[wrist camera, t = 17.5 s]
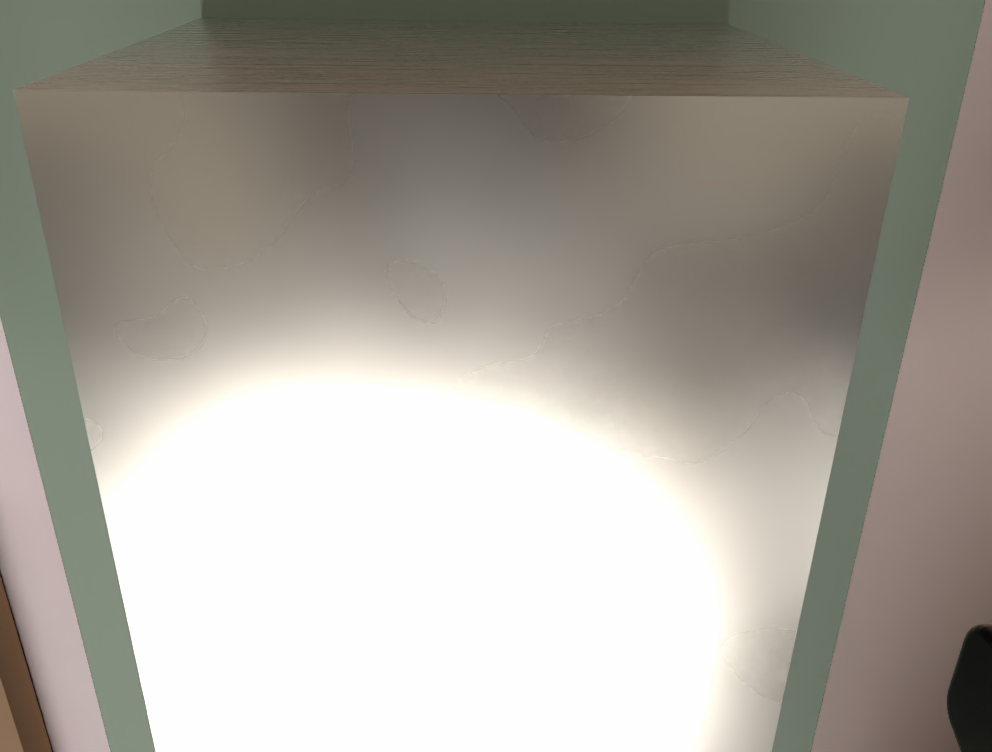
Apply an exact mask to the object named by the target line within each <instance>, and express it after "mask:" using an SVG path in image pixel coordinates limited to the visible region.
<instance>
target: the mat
mask: <svg viewBox="0 0 992 752" xmlns="http://www.w3.org/2000/svg"><path fill="white" fill-rule="evenodd" d="M984 4H985V0H0V317H1V321H2V325H3V329H4V332H5V336H6V340H7V344H8V348H9V352H10V356H11V360H12V364H13V368H14V372H15V376H16V380H17V384H18V388H19V392H20V396H21V400H22V404H23V407H24V411H25V415H26V419H27V423H28V427H29V431H30V435H31V439H32V443H33V447H34V451H35V455H36V459H37V463H38V467H39V471H40V475H41V479H42V482H43V486H44V490H45V494H46V498H47V502H48V506H49V510H50V514H51V518H52V522H53V526H54V530H55V534H56V538H57V542H58V546H59V550H60V554H61V557H62V561H63V565H64V569H65V573H66V577H67V581H68V585H69V589H70V593H71V597H72V601H73V605H74V609H75V613H76V617H77V621H78V625H79V629H80V633H81V636H82V640H83V644H84V648H85V652H86V656H87V660H88V664H89V668H90V672H91V676H92V680H93V684H94V688H95V692H96V696H97V700H98V704H99V708H100V711H101V715H102V719H103V723H104V727H105V731H106V735H107V739H108V743H109V747H110V751H111V752H156V749H155V744H154V740H153V735H152V730H151V726H150V721H149V717H148V712H147V707H146V703H145V698H144V693H143V689H142V684H141V680H140V675H139V670H138V666H137V661H136V657H135V652H134V647H133V643H132V638H131V633H130V629H129V624H128V620H127V615H126V610H125V606H124V601H123V597H122V592H121V587H120V583H119V578H118V573H117V569H116V564H115V560H114V555H113V550H112V546H111V541H110V537H109V532H108V527H107V523H106V518H105V514H104V509H103V504H102V500H101V495H100V490H99V486H98V481H97V477H96V472H95V467H94V463H93V458H92V454H91V449H90V444H89V440H88V435H87V430H86V426H85V421H84V417H83V412H82V407H81V403H80V398H79V394H78V389H77V384H76V380H75V375H74V370H73V366H72V361H71V357H70V352H69V347H68V343H67V338H66V334H65V329H64V324H63V320H62V315H61V310H60V306H59V301H58V297H57V292H56V287H55V283H54V278H53V274H52V269H51V264H50V260H49V255H48V250H47V246H46V241H45V237H44V232H43V227H42V223H41V218H40V214H39V209H38V204H37V200H36V195H35V191H34V186H33V181H32V177H31V172H30V167H29V163H28V158H27V154H26V149H25V144H24V140H23V135H22V131H21V126H20V121H19V117H18V112H17V107H16V103H15V98H14V94H13V90H14V89H17V88H20V87H22V86H25V85H27V84H30V83H33V82H35V81H38V80H40V79H43V78H46V77H48V76H51V75H53V74H56V73H59V72H61V71H64V70H66V69H69V68H72V67H74V66H77V65H79V64H82V63H85V62H87V61H90V60H92V59H95V58H98V57H100V56H103V55H105V54H108V53H111V52H113V51H116V50H118V49H121V48H124V47H126V46H129V45H131V44H134V43H137V42H139V41H142V40H144V39H147V38H150V37H152V36H155V35H157V34H160V33H163V32H165V31H168V30H170V29H173V28H176V27H178V26H181V25H183V24H186V23H189V22H191V21H194V20H196V19H199V18H275V19H362V20H448V21H535V22H621V23H708V24H730V25H733V26H735V27H738V28H740V29H742V30H745V31H747V32H750V33H752V34H755V35H757V36H759V37H762V38H764V39H767V40H769V41H772V42H774V43H776V44H779V45H781V46H784V47H786V48H789V49H791V50H793V51H796V52H798V53H801V54H803V55H806V56H808V57H810V58H813V59H815V60H818V61H820V62H823V63H825V64H827V65H830V66H832V67H835V68H837V69H840V70H842V71H844V72H847V73H849V74H852V75H854V76H857V77H859V78H861V79H864V80H866V81H869V82H871V83H874V84H876V85H878V86H881V87H883V88H886V89H888V90H891V91H893V92H895V93H898V94H900V95H903V96H905V97H908V98H909V102H908V107H907V111H906V116H905V121H904V126H903V130H902V135H901V140H900V145H899V149H898V154H897V159H896V164H895V168H894V173H893V178H892V183H891V187H890V192H889V197H888V202H887V206H886V211H885V216H884V221H883V225H882V230H881V235H880V240H879V244H878V249H877V254H876V259H875V263H874V268H873V273H872V278H871V282H870V287H869V292H868V297H867V301H866V306H865V311H864V316H863V320H862V325H861V330H860V335H859V339H858V344H857V349H856V354H855V358H854V363H853V368H852V373H851V377H850V382H849V387H848V392H847V396H846V401H845V406H844V411H843V415H842V420H841V425H840V430H839V434H838V439H837V444H836V449H835V453H834V458H833V463H832V468H831V472H830V477H829V482H828V487H827V491H826V496H825V501H824V506H823V510H822V515H821V520H820V525H819V529H818V534H817V539H816V543H815V548H814V553H813V558H812V562H811V567H810V572H809V577H808V581H807V586H806V591H805V596H804V600H803V605H802V610H801V615H800V619H799V624H798V629H797V634H796V638H795V643H794V648H793V653H792V657H791V662H790V667H789V672H788V676H787V681H786V686H785V691H784V695H783V700H782V705H781V710H780V714H779V719H778V724H777V729H776V733H775V738H774V743H773V748H772V752H811V747H812V743H813V739H814V735H815V730H816V726H817V722H818V717H819V713H820V709H821V704H822V700H823V696H824V692H825V687H826V683H827V679H828V674H829V670H830V666H831V661H832V657H833V653H834V649H835V644H836V640H837V636H838V631H839V627H840V623H841V618H842V614H843V610H844V606H845V601H846V597H847V593H848V588H849V584H850V580H851V576H852V571H853V567H854V563H855V558H856V554H857V550H858V545H859V541H860V537H861V533H862V528H863V524H864V520H865V515H866V511H867V507H868V502H869V498H870V494H871V490H872V485H873V481H874V477H875V472H876V468H877V464H878V459H879V455H880V451H881V447H882V442H883V438H884V434H885V429H886V425H887V421H888V416H889V412H890V408H891V404H892V399H893V395H894V391H895V386H896V382H897V378H898V374H899V369H900V365H901V361H902V356H903V352H904V348H905V343H906V339H907V335H908V331H909V326H910V322H911V318H912V313H913V309H914V305H915V300H916V296H917V292H918V288H919V283H920V279H921V275H922V270H923V266H924V262H925V257H926V253H927V249H928V245H929V240H930V236H931V232H932V227H933V223H934V219H935V214H936V210H937V206H938V202H939V197H940V193H941V189H942V184H943V180H944V176H945V172H946V167H947V163H948V159H949V154H950V150H951V146H952V141H953V137H954V133H955V129H956V124H957V120H958V116H959V111H960V107H961V103H962V98H963V94H964V90H965V86H966V81H967V77H968V73H969V68H970V64H971V60H972V55H973V51H974V47H975V43H976V38H977V34H978V30H979V25H980V21H981V17H982V13H983V8H984Z"/></svg>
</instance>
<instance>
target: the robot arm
mask: <svg viewBox="0 0 992 752" xmlns="http://www.w3.org/2000/svg"><path fill="white" fill-rule="evenodd" d="M947 710H948V715H949V719H950V723H951V726H952V728H953V731H954V734H955V737H956V739H957V742H958V745H959V747H960V750H961V752H992V624H986V625H977V626H974V627H973V628H971V629H970V630H969V631H968V633H967V634H966V636H965V639H964V642H963V645H962V648H961V651H960V655H959V658H958V661H957V664H956V667H955V670H954V673H953V677H952V680H951V683H950V686H949V689H948V694H947Z"/></svg>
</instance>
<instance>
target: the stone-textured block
mask: <svg viewBox="0 0 992 752" xmlns="http://www.w3.org/2000/svg"><path fill="white" fill-rule="evenodd" d="M13 94H14V98H15V103H16V107H17V112H18V117H19V121H20V126H21V131H22V135H23V140H24V144H25V149H26V154H27V158H28V163H29V167H30V172H31V177H32V181H33V186H34V191H35V195H36V200H37V204H38V209H39V214H40V218H41V223H42V227H43V232H44V237H45V241H46V246H47V250H48V255H49V260H50V264H51V269H52V274H53V278H54V283H55V287H56V292H57V297H58V301H59V306H60V310H61V315H62V320H63V324H64V329H65V334H66V338H67V343H68V347H69V352H70V357H71V361H72V366H73V370H74V375H75V380H76V384H77V389H78V394H79V398H80V403H81V407H82V412H83V417H84V421H85V426H86V430H87V435H88V440H89V444H90V449H91V454H92V458H93V463H94V467H95V472H96V477H97V481H98V486H99V490H100V495H101V500H102V504H103V509H104V514H105V518H106V523H107V527H108V532H109V537H110V541H111V546H112V550H113V555H114V560H115V564H116V569H117V573H118V578H119V583H120V587H121V592H122V597H123V601H124V606H125V610H126V615H127V620H128V624H129V629H130V633H131V638H132V643H133V647H134V652H135V657H136V661H137V666H138V670H139V675H140V680H141V684H142V689H143V693H144V698H145V703H146V707H147V712H148V717H149V721H150V726H151V730H152V735H153V740H154V744H155V749H156V752H772V748H773V743H774V738H775V733H776V729H777V724H778V719H779V714H780V710H781V705H782V700H783V695H784V691H785V686H786V681H787V676H788V672H789V667H790V662H791V657H792V653H793V648H794V643H795V638H796V634H797V629H798V624H799V619H800V615H801V610H802V605H803V600H804V596H805V591H806V586H807V581H808V577H809V572H810V567H811V562H812V558H813V553H814V548H815V543H816V539H817V534H818V529H819V525H820V520H821V515H822V510H823V506H824V501H825V496H826V491H827V487H828V482H829V477H830V472H831V468H832V463H833V458H834V453H835V449H836V444H837V439H838V434H839V430H840V425H841V420H842V415H843V411H844V406H845V401H846V396H847V392H848V387H849V382H850V377H851V373H852V368H853V363H854V358H855V354H856V349H857V344H858V339H859V335H860V330H861V325H862V320H863V316H864V311H865V306H866V301H867V297H868V292H869V287H870V282H871V278H872V273H873V268H874V263H875V259H876V254H877V249H878V244H879V240H880V235H881V230H882V225H883V221H884V216H885V211H886V206H887V202H888V197H889V192H890V187H891V183H892V178H893V173H894V168H895V164H896V159H897V154H898V149H899V145H900V140H901V135H902V130H903V126H904V121H905V116H906V111H907V107H908V102H909V98H908V97H905V96H903V95H900V94H898V93H895V92H893V91H891V90H888V89H886V88H883V87H881V86H878V85H876V84H874V83H871V82H869V81H866V80H864V79H861V78H859V77H857V76H854V75H852V74H849V73H847V72H844V71H842V70H840V69H837V68H835V67H832V66H830V65H827V64H825V63H823V62H820V61H818V60H815V59H813V58H810V57H808V56H806V55H803V54H801V53H798V52H796V51H793V50H791V49H789V48H786V47H784V46H781V45H779V44H776V43H774V42H772V41H769V40H767V39H764V38H762V37H759V36H757V35H755V34H752V33H750V32H747V31H745V30H742V29H740V28H738V27H735V26H733V25H730V24H708V23H621V22H535V21H448V20H362V19H275V18H199V19H196V20H194V21H191V22H189V23H186V24H183V25H181V26H178V27H176V28H173V29H170V30H168V31H165V32H163V33H160V34H157V35H155V36H152V37H150V38H147V39H144V40H142V41H139V42H137V43H134V44H131V45H129V46H126V47H124V48H121V49H118V50H116V51H113V52H111V53H108V54H105V55H103V56H100V57H98V58H95V59H92V60H90V61H87V62H85V63H82V64H79V65H77V66H74V67H72V68H69V69H66V70H64V71H61V72H59V73H56V74H53V75H51V76H48V77H46V78H43V79H40V80H38V81H35V82H33V83H30V84H27V85H25V86H22V87H20V88H17V89H14V90H13Z"/></svg>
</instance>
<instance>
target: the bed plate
mask: <svg viewBox="0 0 992 752" xmlns="http://www.w3.org/2000/svg"><path fill="white" fill-rule="evenodd" d="M0 752H52V750H51V746H50V743H49V740H48V736H47V733H46V729H45V726H44V723H43V719H42V716H41V712H40V709H39V706H38V702H37V699H36V695H35V692H34V689H33V685H32V682H31V678H30V675H29V672H28V668H27V665H26V661H25V658H24V655H23V651H22V648H21V644H20V641H19V638H18V634H17V631H16V627H15V624H14V621H13V617H12V614H11V610H10V607H9V604H8V600H7V597H6V593H5V590H4V587H3V583H2V580H1V576H0Z"/></svg>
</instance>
